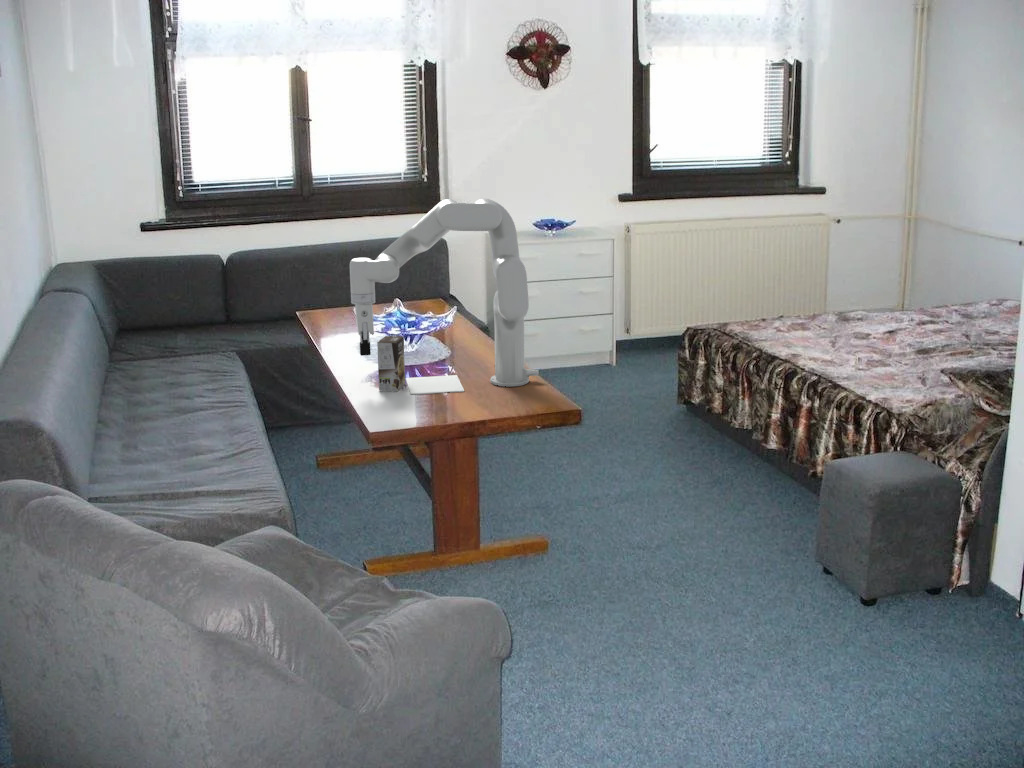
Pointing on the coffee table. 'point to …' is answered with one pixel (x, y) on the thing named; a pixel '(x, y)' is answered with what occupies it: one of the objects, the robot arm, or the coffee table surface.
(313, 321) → the coffee table surface
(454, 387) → the flat white panel
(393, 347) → the coffee box
